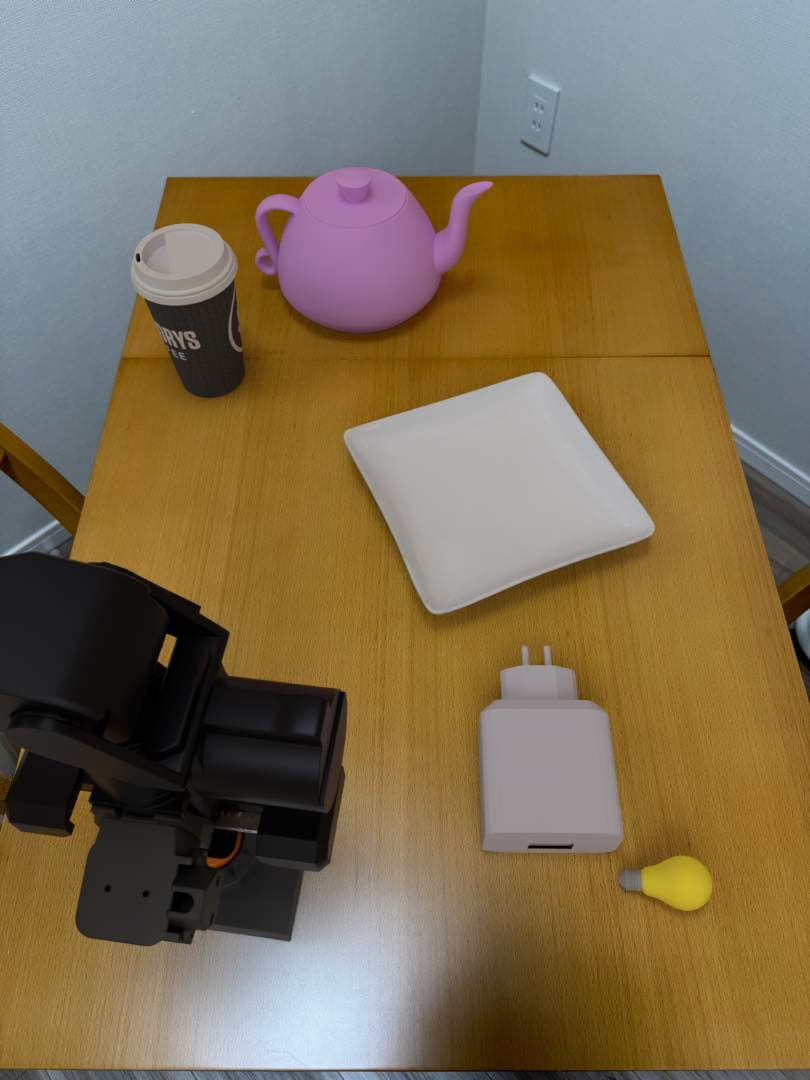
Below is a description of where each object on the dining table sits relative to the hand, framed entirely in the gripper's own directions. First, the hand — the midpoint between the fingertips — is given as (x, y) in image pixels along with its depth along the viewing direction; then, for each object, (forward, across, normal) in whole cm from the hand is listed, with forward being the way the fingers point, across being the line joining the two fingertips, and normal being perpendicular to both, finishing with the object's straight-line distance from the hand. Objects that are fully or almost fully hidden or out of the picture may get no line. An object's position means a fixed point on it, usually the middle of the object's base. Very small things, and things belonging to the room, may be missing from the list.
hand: (208, 834), depth 57 cm
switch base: (+4, 0, 0) cm, 5 cm away
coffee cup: (+5, -13, +46) cm, 48 cm away
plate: (+5, +16, +33) cm, 38 cm away
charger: (+5, +22, +10) cm, 25 cm away
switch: (+2, 0, 0) cm, 2 cm away
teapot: (+5, +1, +61) cm, 61 cm away
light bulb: (+5, +30, +2) cm, 31 cm away
